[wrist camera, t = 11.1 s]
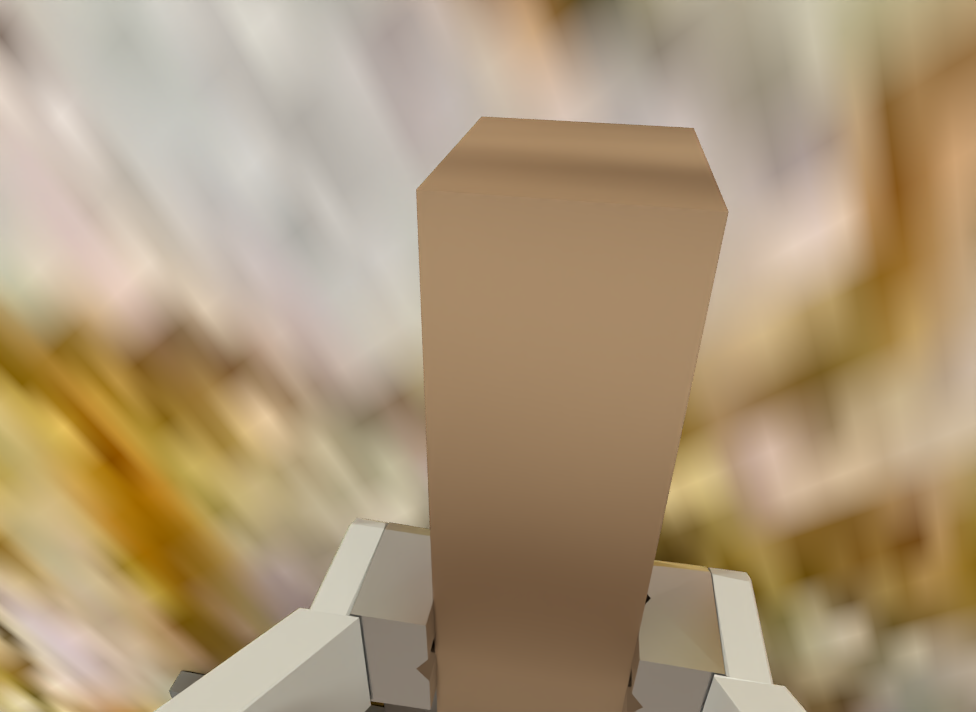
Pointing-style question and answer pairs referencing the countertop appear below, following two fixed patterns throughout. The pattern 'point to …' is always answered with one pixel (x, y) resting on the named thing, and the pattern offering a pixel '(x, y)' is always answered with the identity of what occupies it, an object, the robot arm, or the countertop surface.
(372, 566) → the robot arm
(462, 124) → the countertop surface
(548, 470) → the turner
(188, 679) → the gray rectangular plate
